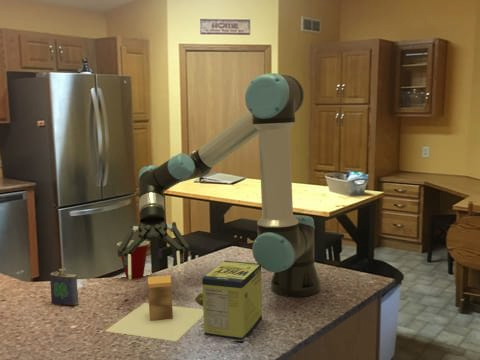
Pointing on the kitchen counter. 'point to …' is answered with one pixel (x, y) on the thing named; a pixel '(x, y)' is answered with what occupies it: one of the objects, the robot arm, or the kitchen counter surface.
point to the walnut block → (160, 298)
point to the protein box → (232, 300)
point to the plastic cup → (136, 260)
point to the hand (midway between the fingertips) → (154, 275)
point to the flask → (64, 288)
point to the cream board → (157, 323)
